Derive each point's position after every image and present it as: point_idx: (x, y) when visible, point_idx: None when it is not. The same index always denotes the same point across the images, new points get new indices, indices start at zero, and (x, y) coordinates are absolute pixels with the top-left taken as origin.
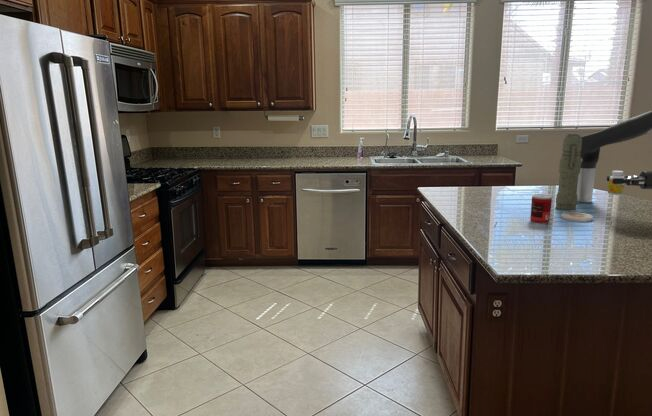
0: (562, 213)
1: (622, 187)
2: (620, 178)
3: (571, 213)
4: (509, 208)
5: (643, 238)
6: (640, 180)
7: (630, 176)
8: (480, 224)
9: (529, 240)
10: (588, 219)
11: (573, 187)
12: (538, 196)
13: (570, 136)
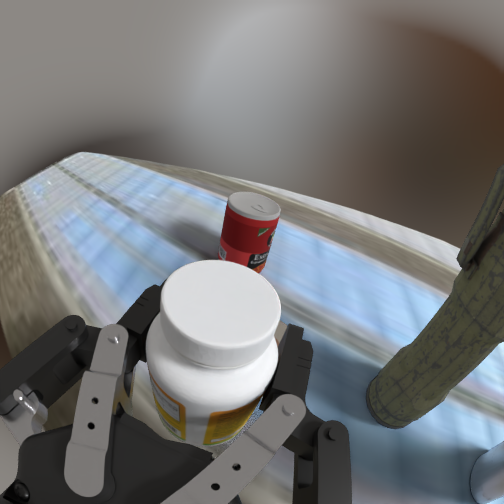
0: (283, 324)
1: (153, 394)
2: (144, 314)
3: (277, 345)
4: (368, 278)
5: (9, 332)
6: (3, 373)
7: (188, 482)
8: None
9: (130, 192)
10: None
11: (424, 355)
12: (260, 203)
13: None
